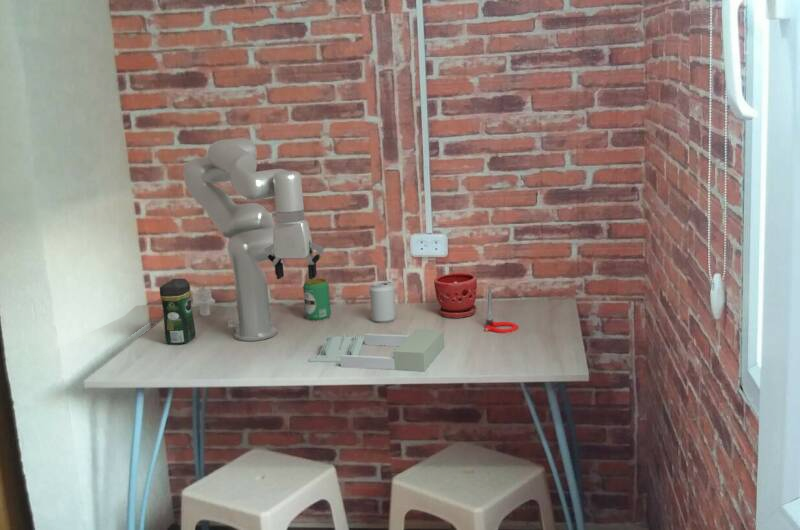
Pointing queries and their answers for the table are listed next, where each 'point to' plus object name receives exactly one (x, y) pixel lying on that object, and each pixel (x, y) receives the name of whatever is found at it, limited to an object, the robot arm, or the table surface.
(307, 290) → the beverage can
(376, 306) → the can
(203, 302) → the pipe fitting
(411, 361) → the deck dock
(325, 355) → the metal bracket
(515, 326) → the tow hook
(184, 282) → the coffee jar
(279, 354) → the table surface
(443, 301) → the plant pot
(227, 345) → the table surface
